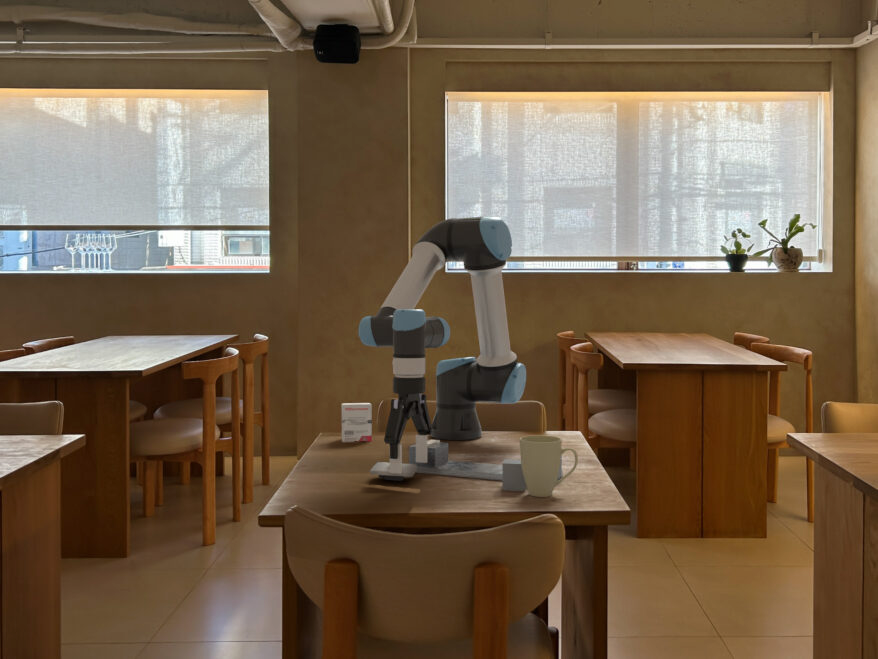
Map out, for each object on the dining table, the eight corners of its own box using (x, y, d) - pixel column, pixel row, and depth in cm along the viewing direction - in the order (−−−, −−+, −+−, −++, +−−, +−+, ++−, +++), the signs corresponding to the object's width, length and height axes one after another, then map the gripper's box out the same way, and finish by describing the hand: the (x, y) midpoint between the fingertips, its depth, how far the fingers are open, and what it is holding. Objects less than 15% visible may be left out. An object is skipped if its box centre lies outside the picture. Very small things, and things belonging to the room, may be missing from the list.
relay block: (504, 485, 190) (504, 459, 190) (526, 486, 189) (526, 459, 189) (502, 490, 185) (502, 463, 185) (525, 491, 184) (525, 464, 184)
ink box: (370, 442, 246) (370, 401, 246) (372, 445, 241) (371, 404, 241) (341, 442, 245) (341, 402, 245) (342, 445, 240) (341, 404, 240)
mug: (534, 502, 174) (535, 444, 174) (511, 491, 183) (512, 436, 183) (579, 496, 179) (580, 440, 178) (555, 487, 188) (555, 433, 187)
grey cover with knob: (411, 484, 189) (412, 461, 189) (368, 481, 190) (369, 458, 190) (417, 477, 199) (418, 456, 199) (376, 474, 200) (377, 453, 200)
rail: (424, 464, 214) (424, 438, 213) (562, 476, 199) (562, 448, 199) (407, 471, 204) (407, 444, 204) (550, 485, 190) (550, 456, 189)
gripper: (417, 371, 207) (417, 457, 208) (368, 379, 184) (368, 476, 185) (445, 372, 204) (445, 459, 205) (399, 381, 181) (399, 479, 182)
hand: (409, 467), depth 195 cm, fingers open, 13 cm apart
